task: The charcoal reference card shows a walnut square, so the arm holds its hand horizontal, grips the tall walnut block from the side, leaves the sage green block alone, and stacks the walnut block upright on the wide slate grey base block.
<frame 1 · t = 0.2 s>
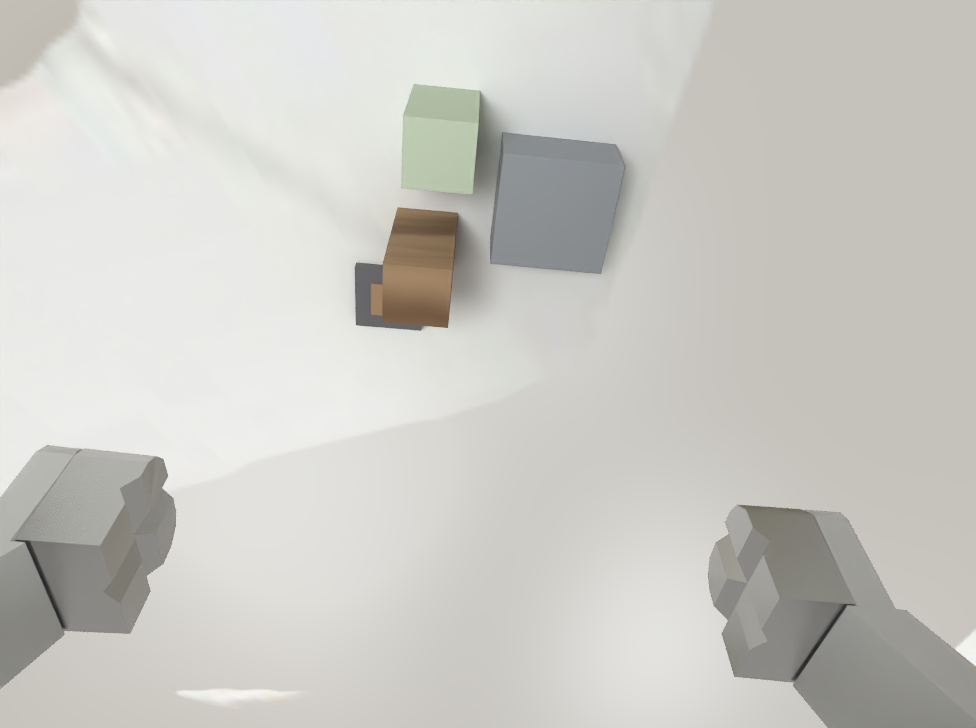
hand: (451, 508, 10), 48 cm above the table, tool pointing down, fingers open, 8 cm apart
walnut block: (426, 237, 60), on the table
slate base block: (550, 191, 58), on the table
sage green block: (445, 120, 54), on the table
reference card: (390, 295, 63), on the table
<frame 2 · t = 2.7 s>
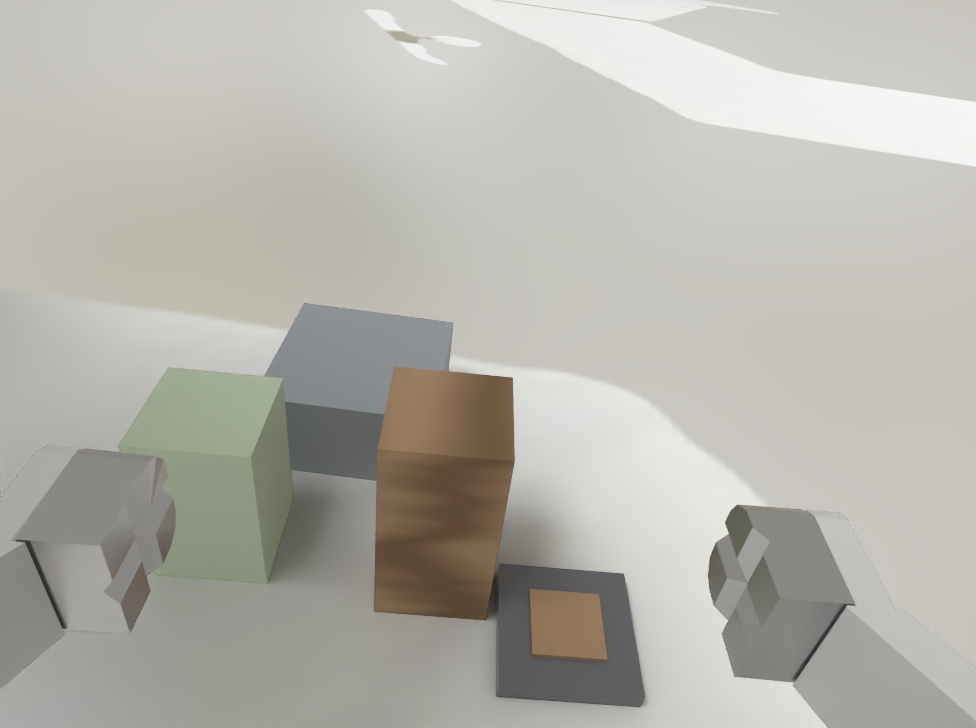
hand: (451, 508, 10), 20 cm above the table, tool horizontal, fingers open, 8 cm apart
walnut block: (434, 569, 33), on the table
slate base block: (362, 424, 41), on the table
sage green block: (228, 535, 34), on the table
reference card: (563, 635, 31), on the table
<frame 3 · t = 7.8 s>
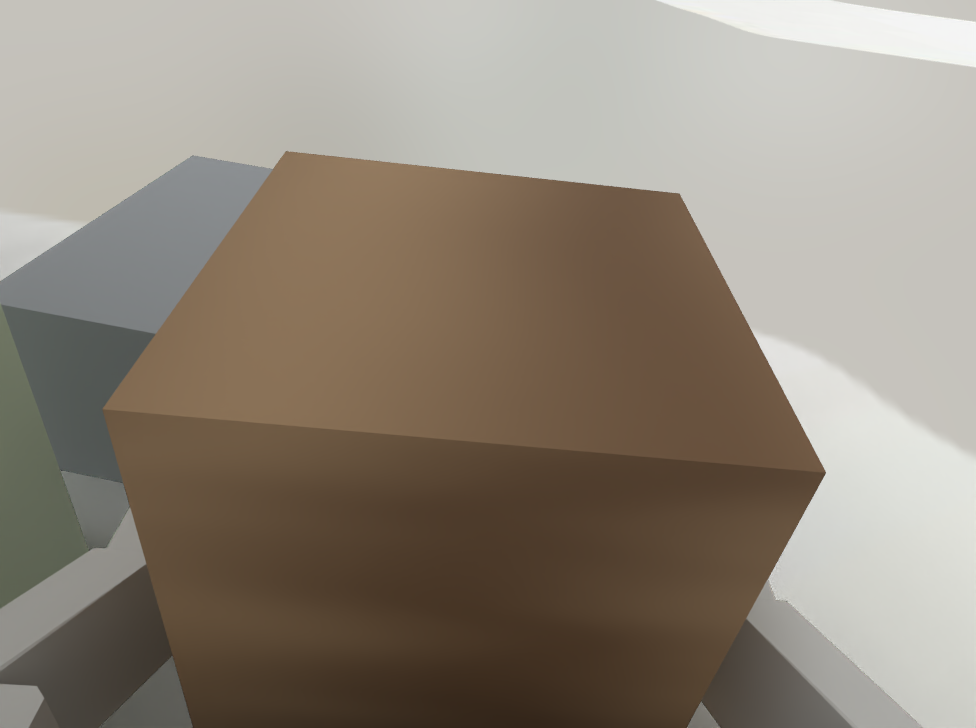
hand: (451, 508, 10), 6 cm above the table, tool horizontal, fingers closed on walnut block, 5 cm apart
slate base block: (284, 395, 21), on the table
when the fingers open (12 cm above the table, at t = 12.3 s): walnut block drops 2 cm, point 5 cm above the table.
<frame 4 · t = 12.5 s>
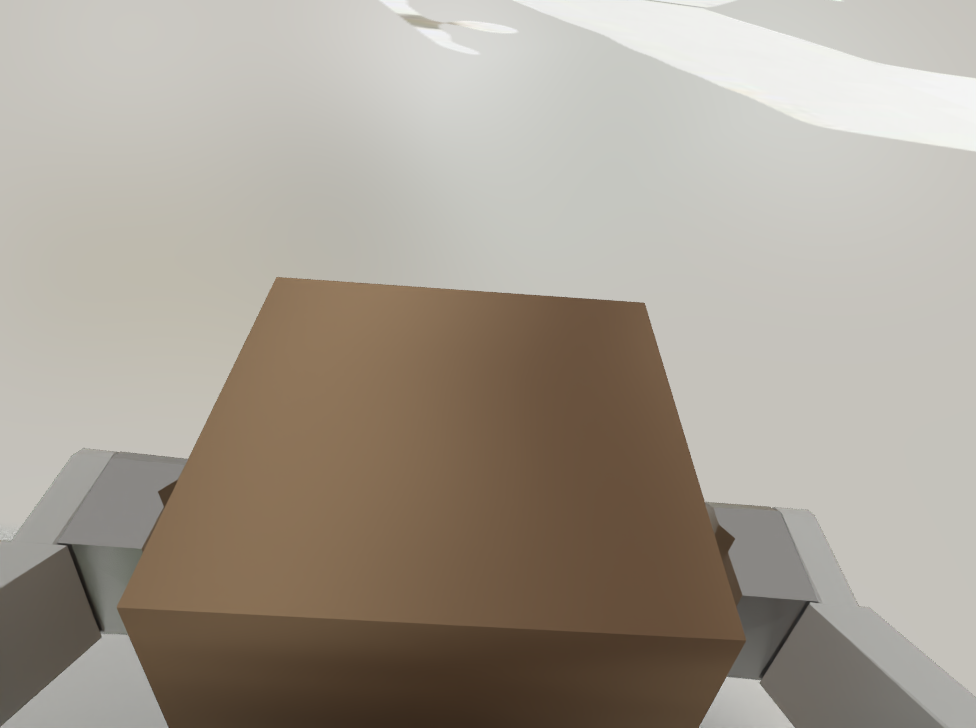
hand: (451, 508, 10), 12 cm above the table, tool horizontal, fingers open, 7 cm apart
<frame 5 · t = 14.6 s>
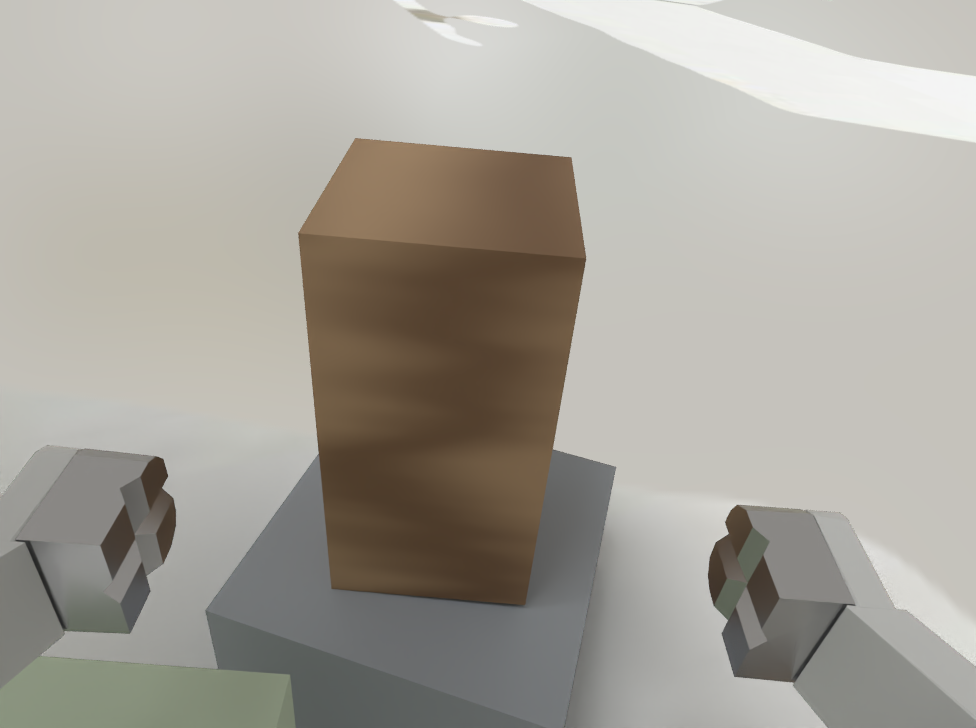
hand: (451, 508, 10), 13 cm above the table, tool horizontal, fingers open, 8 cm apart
walnut block: (438, 522, 20), point 5 cm above the table, touching slate base block
slate base block: (429, 629, 23), on the table, touching walnut block
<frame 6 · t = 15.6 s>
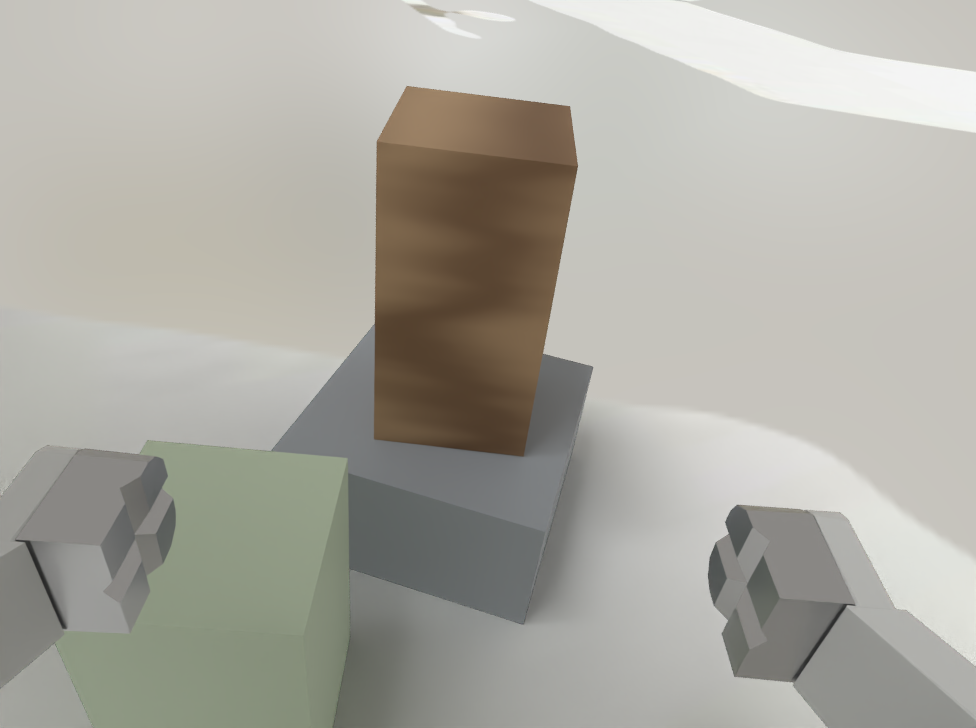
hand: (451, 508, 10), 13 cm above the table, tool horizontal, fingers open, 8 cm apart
walnut block: (455, 400, 25), point 5 cm above the table
slate base block: (440, 499, 28), on the table
sage green block: (249, 708, 20), on the table
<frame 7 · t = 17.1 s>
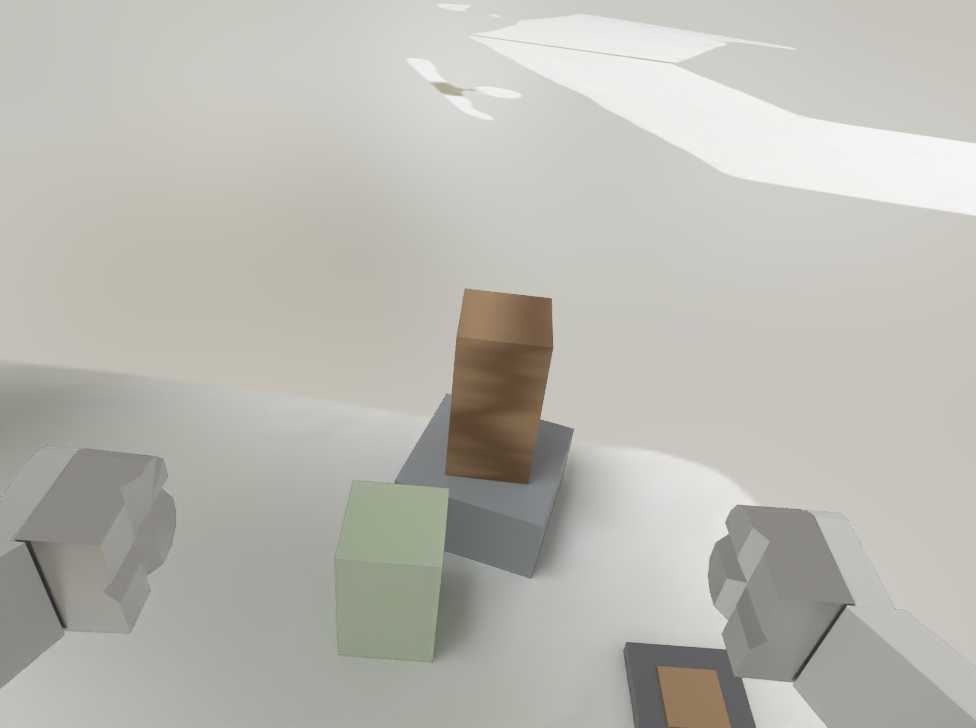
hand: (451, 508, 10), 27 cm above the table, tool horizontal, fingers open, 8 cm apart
walnut block: (488, 451, 44), point 5 cm above the table, touching slate base block
slate base block: (481, 507, 47), on the table, touching walnut block
sage green block: (391, 617, 39), on the table
reference card: (687, 707, 37), on the table
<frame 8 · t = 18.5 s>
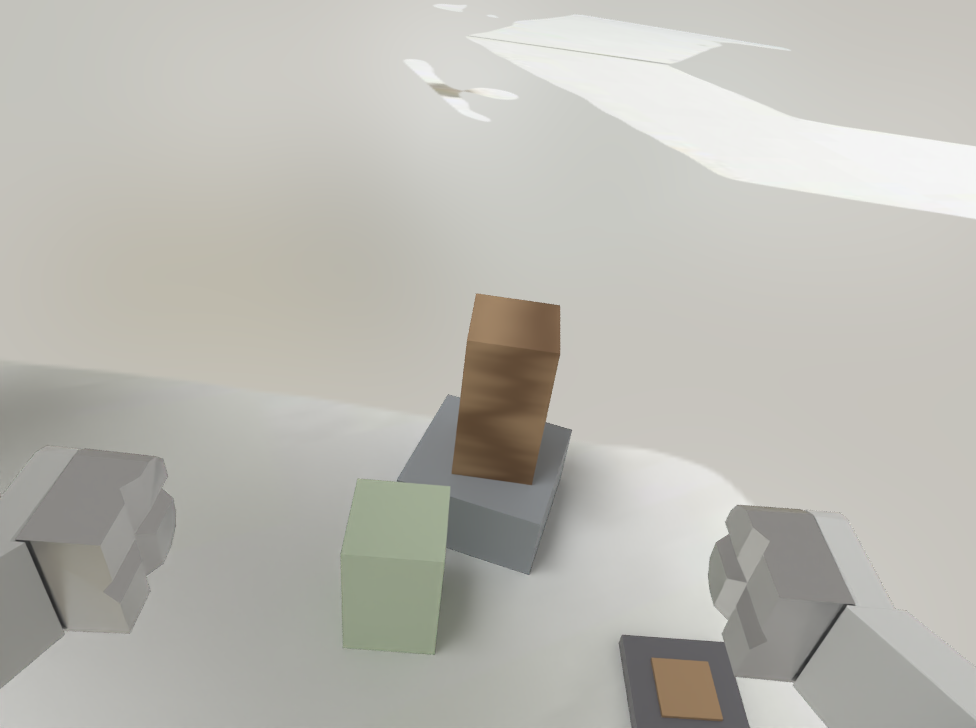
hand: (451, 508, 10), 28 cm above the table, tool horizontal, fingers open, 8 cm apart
walnut block: (494, 451, 45), point 5 cm above the table, touching slate base block
slate base block: (481, 506, 48), on the table, touching walnut block
sage green block: (394, 611, 40), on the table
reference card: (681, 697, 38), on the table
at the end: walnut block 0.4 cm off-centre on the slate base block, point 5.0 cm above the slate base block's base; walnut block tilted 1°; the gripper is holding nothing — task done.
